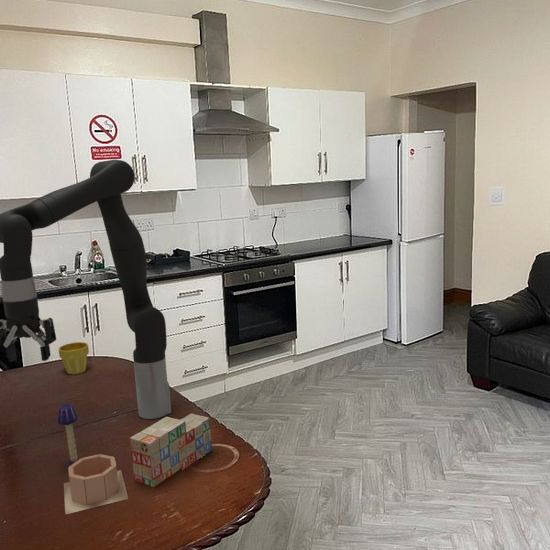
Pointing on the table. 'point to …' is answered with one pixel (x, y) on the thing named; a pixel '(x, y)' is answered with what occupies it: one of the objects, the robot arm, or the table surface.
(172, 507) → the table surface
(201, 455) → the stack of blocks
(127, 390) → the table surface
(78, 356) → the plant pot
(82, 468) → the beige octagonal hollow piece
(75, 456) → the toy lamp
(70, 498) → the birch board
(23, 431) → the table surface
